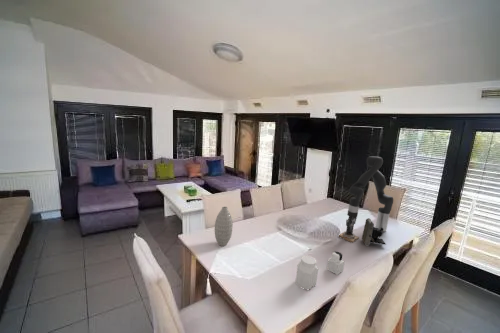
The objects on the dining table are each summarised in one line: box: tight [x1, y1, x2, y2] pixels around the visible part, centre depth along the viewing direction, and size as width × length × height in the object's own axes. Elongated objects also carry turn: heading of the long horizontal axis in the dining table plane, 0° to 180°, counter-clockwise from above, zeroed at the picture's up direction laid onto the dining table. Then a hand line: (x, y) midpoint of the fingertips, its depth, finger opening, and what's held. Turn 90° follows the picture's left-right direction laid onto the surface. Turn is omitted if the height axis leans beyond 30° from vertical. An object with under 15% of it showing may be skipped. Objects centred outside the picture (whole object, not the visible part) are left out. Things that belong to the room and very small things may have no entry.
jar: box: [295, 255, 319, 290], centre depth 133 cm, size 12×10×15 cm
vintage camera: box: [361, 218, 387, 246], centre depth 185 cm, size 10×15×20 cm, turn 78°
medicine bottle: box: [326, 250, 345, 275], centre depth 147 cm, size 7×7×12 cm
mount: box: [338, 230, 360, 244], centre depth 194 cm, size 12×12×4 cm
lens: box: [345, 222, 355, 234], centre depth 193 cm, size 5×5×10 cm
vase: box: [214, 206, 234, 247], centre depth 167 cm, size 13×13×28 cm
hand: (349, 229), depth 193 cm, fingers closed on lens, 5 cm apart
